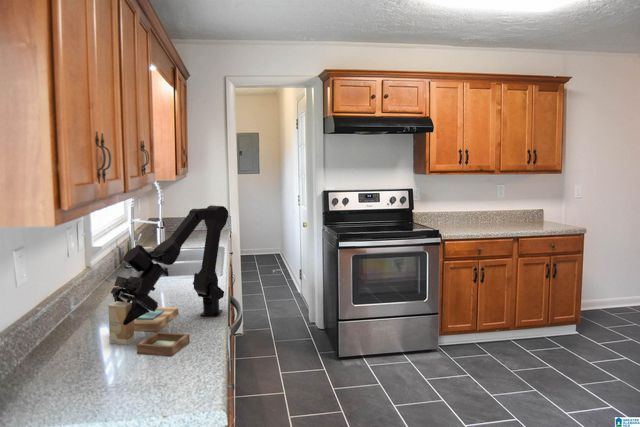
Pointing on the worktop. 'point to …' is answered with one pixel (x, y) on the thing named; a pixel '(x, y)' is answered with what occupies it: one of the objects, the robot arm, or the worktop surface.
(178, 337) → the tray
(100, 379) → the worktop surface
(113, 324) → the skincare box
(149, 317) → the shallow wooden box
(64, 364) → the worktop surface
